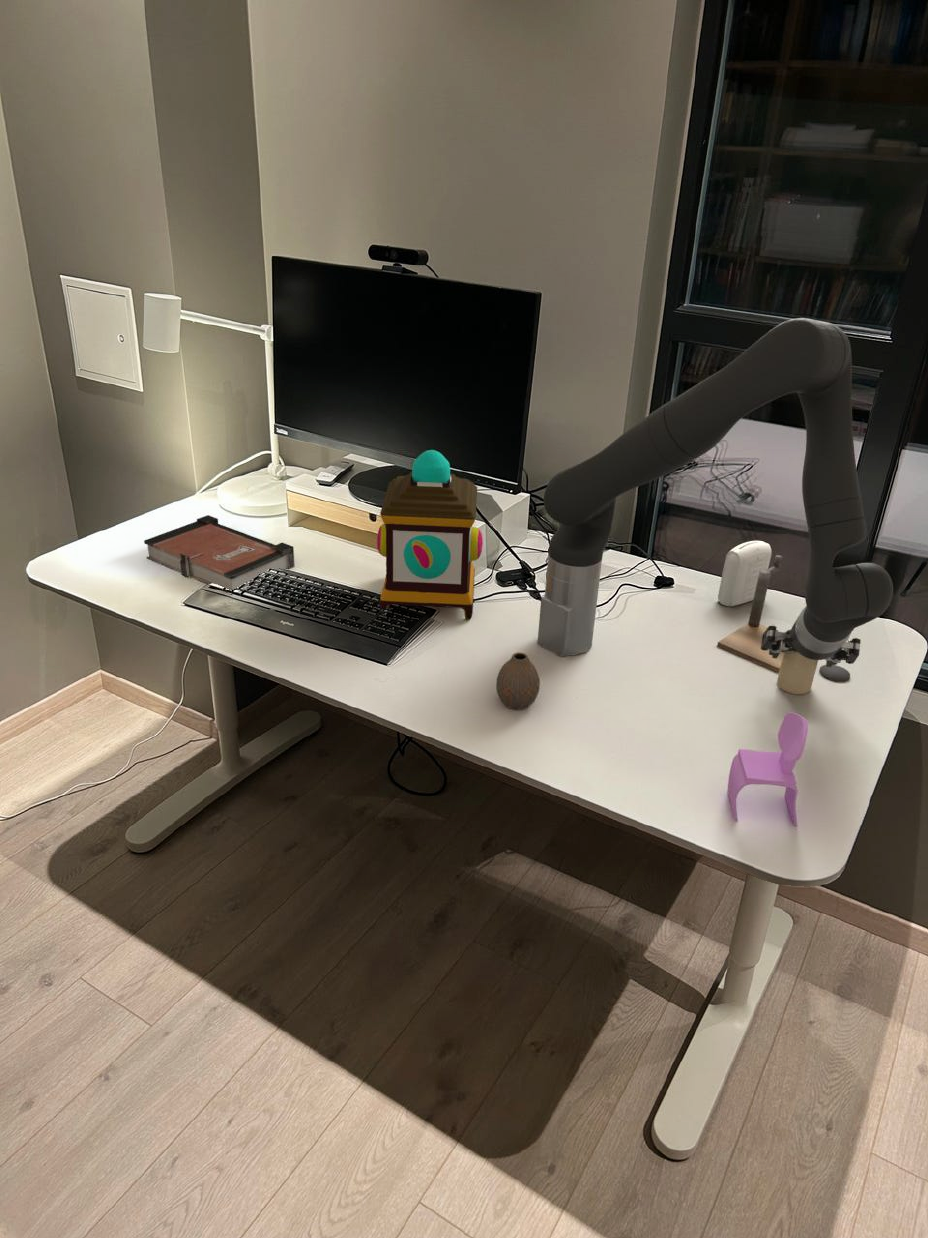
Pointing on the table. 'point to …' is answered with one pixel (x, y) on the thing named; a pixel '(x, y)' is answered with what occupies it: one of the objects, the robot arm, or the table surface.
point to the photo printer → (743, 572)
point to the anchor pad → (834, 673)
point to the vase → (518, 682)
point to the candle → (796, 673)
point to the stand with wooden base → (755, 627)
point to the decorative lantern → (429, 537)
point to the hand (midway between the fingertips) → (801, 656)
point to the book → (217, 553)
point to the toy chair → (771, 764)
